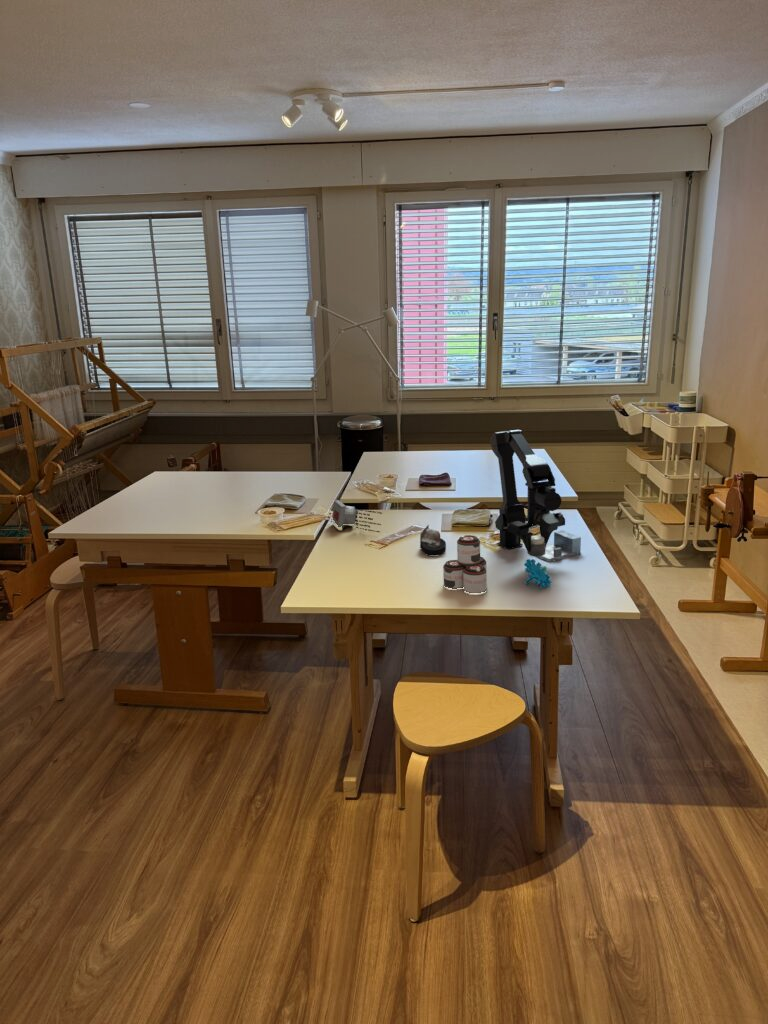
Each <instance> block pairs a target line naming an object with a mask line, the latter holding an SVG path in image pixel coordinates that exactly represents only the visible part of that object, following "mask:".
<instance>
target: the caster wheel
mask: <svg viewBox="0 0 768 1024" xmlns="http://www.w3.org/2000/svg"><path fill="white" fill-rule="evenodd" d="M419 535H420V536H419V538H420V539H419V540H420V541H419V544H420V545H419V549H420V548H421V552H422V553H423V554H424V555H426V554H427V555H426V556H429V555H439V556H442V555H444V553H445V552H446V550H447V542H446V541H445V540H444V539H443V538H441V533H440V532H439V530H436V529H431V528H429V524H427V525H426V527H425V528H424V529H423V530H422V531H421V532H420V533H419ZM441 554H442V555H441Z"/></svg>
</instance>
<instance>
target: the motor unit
mask: <svg viewBox="0 0 768 1024" xmlns="http://www.w3.org/2000/svg"><path fill="white" fill-rule="evenodd" d="M581 540H582V537H581V536H578V535H576V534H574V533H570V532H568V531H566V530H564V529H563V530H556V531H553V544H549V545H546V548H545V555H542V556H536V557H537V558H539V559H542V560H544V561H546V562H549V563H550V562H554V560H555V561H558V560H562V559H565V558H569V557H573V556H575V555H579V554H581V549H582V548H581V546H582V541H581Z"/></svg>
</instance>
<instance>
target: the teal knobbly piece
mask: <svg viewBox="0 0 768 1024" xmlns="http://www.w3.org/2000/svg"><path fill="white" fill-rule="evenodd" d="M536 562H537V561H536V560H535V559H534V558H532V559H530V558H528V559H526V561H525V563H524V564H523V565H524V566H525V568H524V571H525V573H529V574H528V578H527V579H526V580H525V581H524V583H525V584H526V583H528V584H529V583H531V581H533V580H534V581H533V582H534V583H533V584H535V585H537V586H538V585H539V584H540V585H539V586H540V588H542V589H544V588H546V587H548V588H549V587H550V585H551V584H552V581H551V580H550V578H551V575H550V574H547V572H548V570H547V569H548V568H547V566H543V567H542V564H541V563H540V562H537V563H536ZM541 567H542V568H541Z"/></svg>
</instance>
